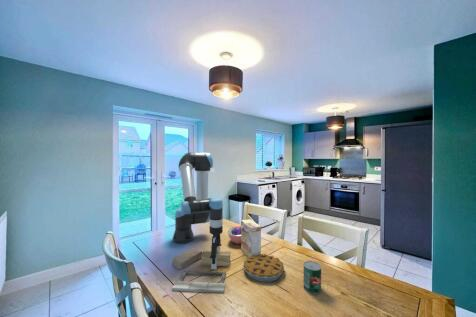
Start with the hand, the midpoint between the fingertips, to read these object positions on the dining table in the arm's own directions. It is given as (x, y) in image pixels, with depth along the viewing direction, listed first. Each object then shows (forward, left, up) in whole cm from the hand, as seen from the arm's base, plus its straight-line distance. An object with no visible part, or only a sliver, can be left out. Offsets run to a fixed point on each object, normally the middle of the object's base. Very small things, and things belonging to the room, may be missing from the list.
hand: (216, 262), depth 117 cm
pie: (+6, +27, -1) cm, 28 cm away
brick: (-1, -17, -1) cm, 17 cm away
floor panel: (+17, -4, 0) cm, 17 cm away
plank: (0, 0, 0) cm, 0 cm away
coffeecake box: (-13, +20, 0) cm, 24 cm away
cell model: (-30, +12, 0) cm, 32 cm away
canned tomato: (+19, +49, 0) cm, 53 cm away
